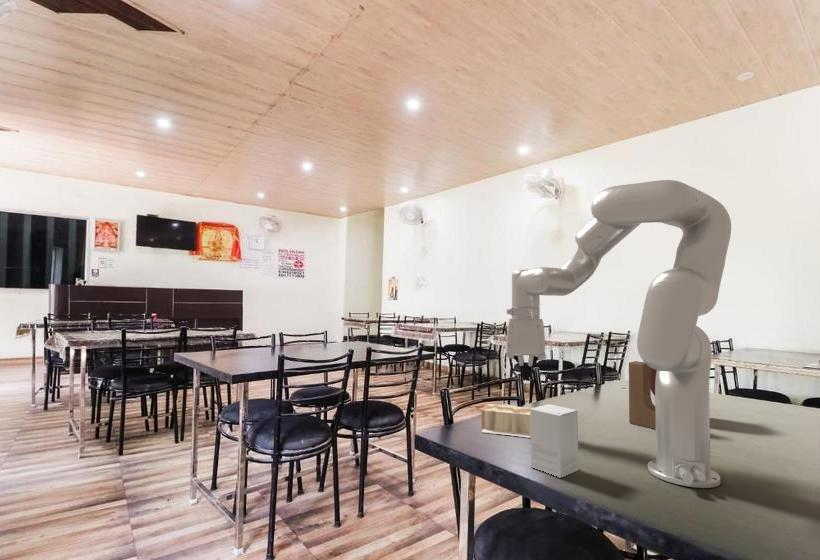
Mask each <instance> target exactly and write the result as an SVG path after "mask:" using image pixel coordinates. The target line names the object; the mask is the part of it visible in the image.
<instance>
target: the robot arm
mask: <svg viewBox="0 0 820 560" xmlns="http://www.w3.org/2000/svg"><path fill="white" fill-rule="evenodd" d="M590 211H591V214H592V218H591V219H590V220H589V221H588V222H586V224H585V225H583V227H582V228H580V229H579V230H578V232H576V234H575V237H574V239H575V243H576V244H577V249H576V250H577V251H576V252H575V254H574V255H573V256H572V258H570V260H568V262H566V263H565V264H564V265H562V267H561V268H558V267H547V266H542V267H541V266H540V267H536V268H533V269H517V270H514V271H513V272H512V274H511V308H509V309H506V315H510V316H511V317H510V318H509V319H508V324H507V333H506V351H507V352H506V356H505V357H506V358H508V359H512V360H514V361H515V362H516V363H517V364H519V367H520V368H519V372H520V373H519V374H520V378H522V381H524V382H525V381H526V382H529V381H530V378H533V365H534V364H535V363H537V362H538V361H542V360H546V359H547V355H546V338H545V337H546V335H545V327H544V326H545V325H544V321H543V318H541V310H540V309H541V306H540V305H541V304H540V296H549V297H550V296H551V297H552V296H554V297H555V296H556V297H558V296H559V297H564V296H567V295H568V296H569V295H570V294H572V293H573V292H575V291H576V290H577V289H578V288H580V287H581V286H582V285H583V284H584V283H586V282H587V281H588V280H589V279H590V278H591V277H592V276H593V275H594V273H595V272H596V270H597V268H598V267H599V265H600V263H601V260H602V258H604V256H605V255H607V254H608V253H609V252H610V251H611V250H612V249H613V248H615V247H616V246H617V245H618V244H619V243H620V242H621V241H622V240H624V239H625V238H626V237H627V236H629V235H630V234H631V233H632V232H633V231H634V230H636V229H637V228H638V227H639V226H640V225H641V224H646V223H660V224H661V223H662V224H664V225H668V226H671V227H672V226H673V227H676V228H678V229H680V230H681V231H682V237H681V239H680V241H679V243H678V246H677V248H676V253H675V259H674V264H673V267H672V268H671V269H667V270H664V271H663V272H661V273H659V274H658V275H657V276H656V277H655V278H653V280H652V282H651V283H650V285H649V287H648V289H647V291H646V295H645V300H644V305H643V309H642V313H641V319H640V322H639V323H640V324H639V329H638V333H637V340H636V345H637V352H638V356H639V357H640V359H641V360H642V362H645V363H646V364H647V365H648V366H649V367H651V368H653V369H655V370H657V372H656V380H655V396H654V404H655V405H654V406H655V421H656V429H655V459H652V460H650V461H648V463H647V471H648V472H650V473H651V474H652V476H655V477H656V478H658V479H661V480H663V481H665V482H668V483H671V484H674V485H678V486H682V487H689V488H696V489H711V488H716V487H718V486H719V485H721V482H722V481H721V476H720V475H719V473H718V472H716V471H714V469H712V467H711V466H712V464H711V462H712V461H711V427H710V426H711V423H710V422H711V420H710V415H711V414H710V376H711V365H712V355H713V354H712V353H713V351H712V344H711V341H710V338H709V336H708V335H707V333H706V331H704V330H703V329H702V328H700V326H698V325H697V323H698V318H699V317H701V316H704V315H707V314H708V313H710V312H711V311H713V309H714V308H715V307H716V304H717V302H718V297H719V294H720V288H721V287H720V286H721V283H722V279H723V274H724V269H725V265H726V258H727V254H728V250H729V245H730V241H731V237H732V236H731V234H732V220H731V217H730V213H729V212H728V210H727V209H726V206H724V205H723V204H722V203H721V202H719V200H717V199H716V198H714V197H712V196H711V195H709V194H707V193H705V192H704V191H701V190H700V189H697V188H695V187H693V186H690V185H688V184H686V183H684V182H681V181H678V180H674V179H661V180H651V181H646V182H644V181H643V182H636V183H629V184H621V185H620V184H619V185H614V186H610V187H607V188H605V189H603V190H601V191H600V192H598V194H596V196H595V197H594V199H593V200H592V203H591V208H590ZM524 356H528V362H527V363H525V358H524Z"/></svg>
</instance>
